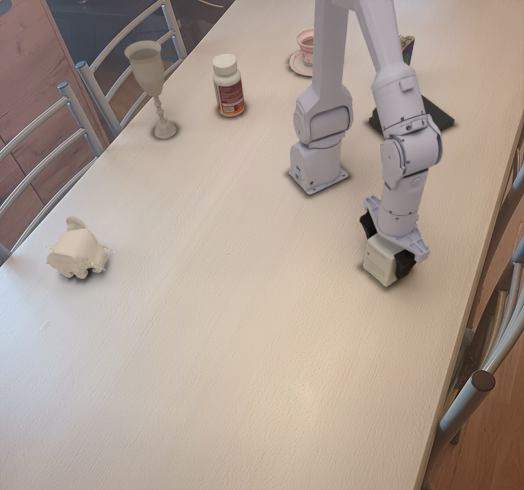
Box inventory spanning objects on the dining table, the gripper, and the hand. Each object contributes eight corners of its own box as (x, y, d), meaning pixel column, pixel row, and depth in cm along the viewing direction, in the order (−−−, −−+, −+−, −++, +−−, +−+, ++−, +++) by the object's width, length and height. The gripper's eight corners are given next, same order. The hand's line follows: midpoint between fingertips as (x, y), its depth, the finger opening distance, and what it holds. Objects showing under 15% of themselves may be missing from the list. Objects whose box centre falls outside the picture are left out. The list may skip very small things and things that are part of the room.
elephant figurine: (107, 290, 91) (89, 258, 83) (48, 284, 93) (24, 252, 85) (124, 250, 95) (108, 216, 88) (67, 245, 97) (46, 211, 90)
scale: (398, 151, 103) (400, 139, 101) (366, 123, 109) (367, 110, 106) (453, 125, 106) (456, 112, 103) (419, 99, 111) (421, 86, 109)
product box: (361, 267, 89) (365, 239, 82) (386, 250, 90) (392, 221, 84) (386, 288, 86) (392, 260, 80) (411, 270, 88) (419, 241, 81)
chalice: (183, 121, 114) (164, 39, 99) (178, 141, 111) (157, 59, 95) (153, 121, 115) (128, 41, 99) (146, 141, 112) (120, 60, 96)
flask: (392, 98, 112) (399, 49, 103) (380, 94, 113) (386, 46, 104) (410, 76, 116) (418, 27, 107) (398, 73, 117) (406, 24, 108)
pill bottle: (250, 108, 115) (245, 58, 105) (230, 121, 113) (223, 72, 103) (232, 97, 117) (225, 48, 107) (212, 110, 115) (204, 61, 105)
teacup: (281, 58, 124) (279, 32, 118) (323, 43, 125) (324, 17, 120) (303, 83, 118) (303, 56, 112) (347, 67, 119) (349, 40, 114)
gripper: (454, 220, 72) (433, 279, 84) (392, 164, 79) (381, 226, 91) (414, 241, 71) (399, 297, 82) (355, 182, 78) (349, 242, 89)
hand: (387, 261), depth 86 cm, fingers open, 7 cm apart
